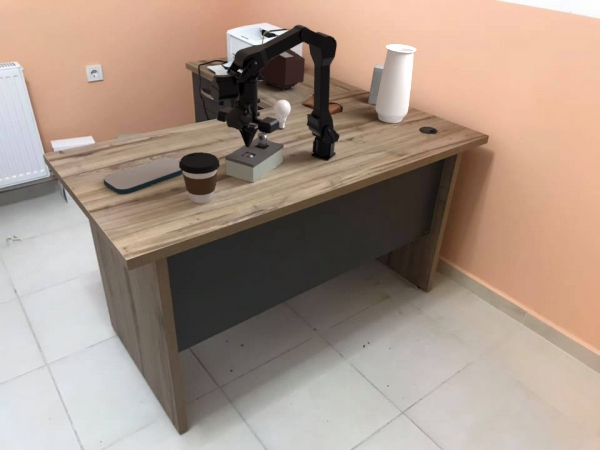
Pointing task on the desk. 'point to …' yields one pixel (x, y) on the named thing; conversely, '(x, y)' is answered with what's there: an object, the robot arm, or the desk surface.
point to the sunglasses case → (333, 106)
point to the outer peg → (248, 155)
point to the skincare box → (375, 84)
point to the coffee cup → (200, 175)
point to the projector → (284, 68)
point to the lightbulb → (282, 111)
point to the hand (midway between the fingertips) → (247, 146)
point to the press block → (254, 161)
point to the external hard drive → (143, 175)
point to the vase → (395, 84)
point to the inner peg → (262, 140)
